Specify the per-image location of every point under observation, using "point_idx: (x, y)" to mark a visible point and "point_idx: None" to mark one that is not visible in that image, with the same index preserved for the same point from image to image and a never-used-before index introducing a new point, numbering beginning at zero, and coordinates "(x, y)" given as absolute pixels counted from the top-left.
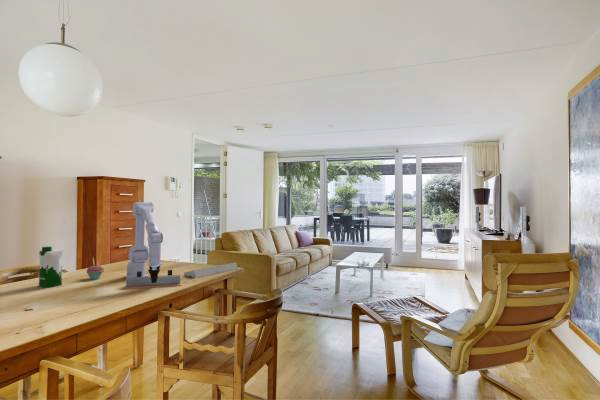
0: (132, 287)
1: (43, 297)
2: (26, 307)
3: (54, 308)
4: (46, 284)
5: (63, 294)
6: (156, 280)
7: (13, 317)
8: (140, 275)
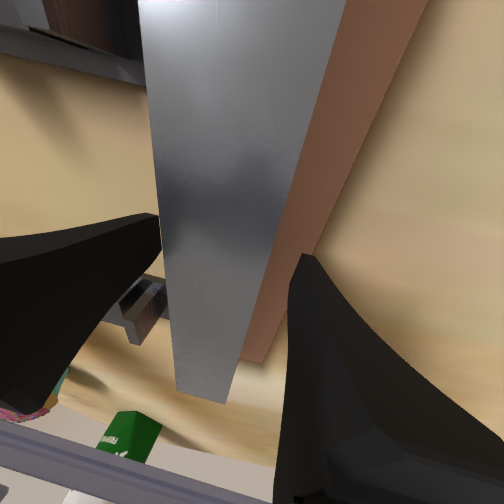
0: (258, 342)
1: (253, 447)
2: None
3: None
4: (157, 436)
5: (243, 433)
6: (323, 270)
7: None
8: None
